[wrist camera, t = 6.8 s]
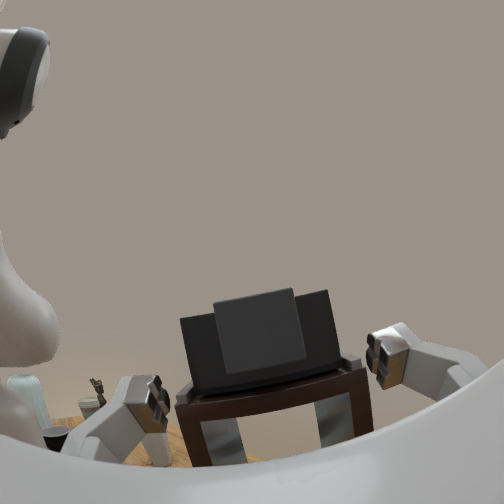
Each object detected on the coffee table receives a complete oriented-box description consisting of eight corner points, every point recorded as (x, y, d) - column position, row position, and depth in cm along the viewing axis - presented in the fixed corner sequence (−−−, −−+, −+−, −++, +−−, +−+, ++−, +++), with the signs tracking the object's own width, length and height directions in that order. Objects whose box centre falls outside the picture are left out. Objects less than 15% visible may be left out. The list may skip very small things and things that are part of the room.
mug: (83, 458, 43) (70, 424, 46) (85, 472, 37) (70, 435, 39) (43, 460, 36) (30, 426, 38) (41, 474, 29) (25, 437, 32)
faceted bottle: (174, 455, 50) (151, 374, 55) (176, 466, 44) (150, 378, 49) (149, 459, 48) (125, 377, 53) (149, 470, 42) (121, 381, 47)
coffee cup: (115, 430, 67) (105, 397, 70) (99, 438, 59) (88, 403, 61) (98, 427, 68) (89, 395, 71) (82, 434, 60) (72, 400, 63)
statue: (127, 439, 60) (109, 377, 64) (107, 442, 56) (89, 379, 61) (124, 434, 64) (108, 375, 68) (106, 437, 60) (89, 377, 64)
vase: (56, 453, 42) (32, 377, 47) (23, 452, 37) (-1, 377, 42) (61, 440, 52) (42, 373, 57) (31, 439, 46) (12, 373, 51)
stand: (250, 506, 29) (210, 359, 35) (337, 488, 29) (313, 338, 35) (247, 583, 11) (171, 395, 17) (374, 556, 11) (364, 356, 17)
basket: (218, 366, 31) (208, 317, 32) (309, 348, 31) (299, 299, 32) (139, 466, 7) (100, 317, 9) (424, 408, 8) (401, 257, 9)
